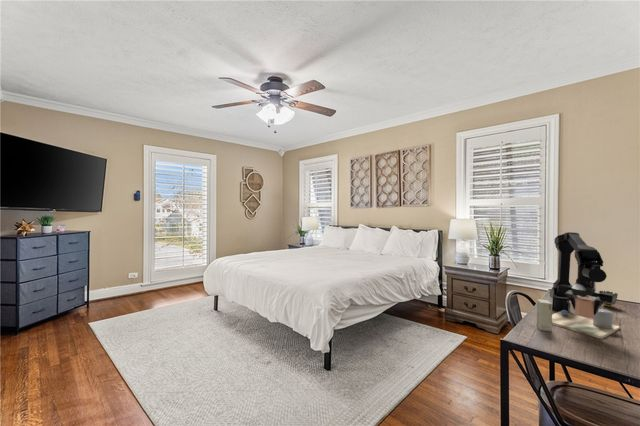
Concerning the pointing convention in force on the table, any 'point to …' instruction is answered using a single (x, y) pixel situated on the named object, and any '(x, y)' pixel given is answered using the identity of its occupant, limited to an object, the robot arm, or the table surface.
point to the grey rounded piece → (603, 319)
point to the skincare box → (544, 315)
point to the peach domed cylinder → (584, 307)
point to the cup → (608, 302)
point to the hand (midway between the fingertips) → (584, 312)
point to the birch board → (581, 325)
